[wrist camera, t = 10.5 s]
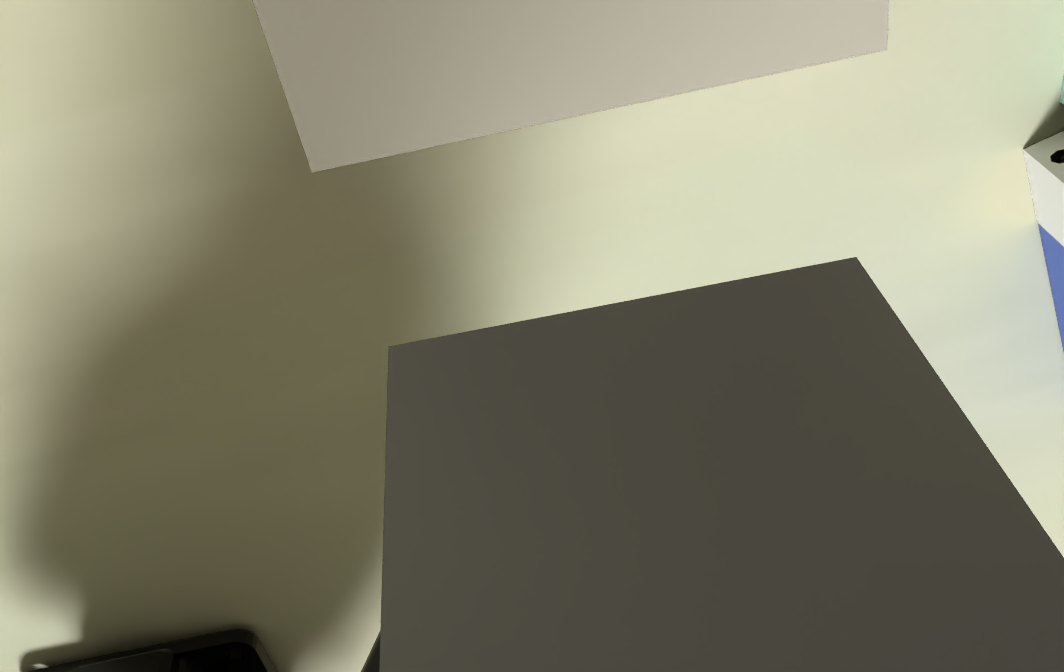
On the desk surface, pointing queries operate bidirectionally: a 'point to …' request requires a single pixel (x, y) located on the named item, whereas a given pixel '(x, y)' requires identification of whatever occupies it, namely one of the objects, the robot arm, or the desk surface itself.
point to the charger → (704, 495)
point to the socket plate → (527, 61)
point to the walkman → (1050, 210)
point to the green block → (1062, 92)
